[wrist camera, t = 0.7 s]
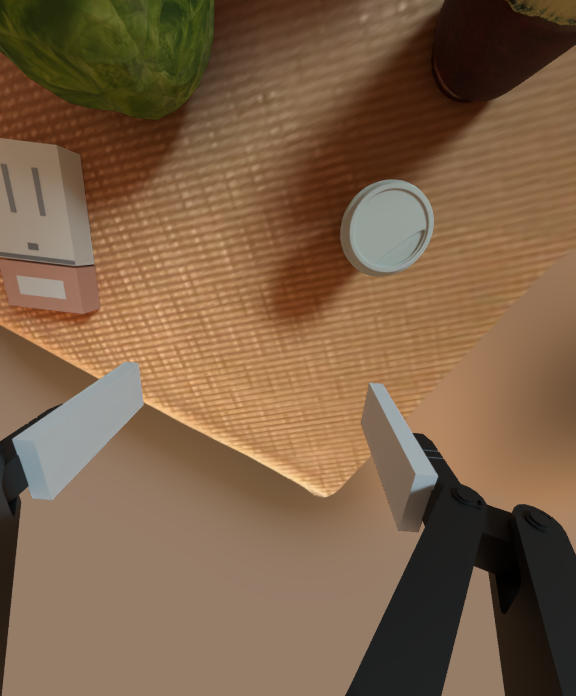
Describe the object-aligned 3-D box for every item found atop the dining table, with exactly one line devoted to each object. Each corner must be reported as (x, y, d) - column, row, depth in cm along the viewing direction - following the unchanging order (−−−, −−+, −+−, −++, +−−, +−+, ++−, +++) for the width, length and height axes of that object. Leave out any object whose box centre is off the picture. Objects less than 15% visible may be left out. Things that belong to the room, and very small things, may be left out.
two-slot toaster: (-2, 144, 34) (-35, 133, 30) (79, 154, 34) (56, 144, 31) (22, 255, 39) (-4, 256, 35) (94, 264, 39) (75, 266, 35)
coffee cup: (329, 270, 38) (343, 281, 27) (328, 199, 35) (342, 179, 24) (393, 265, 37) (434, 275, 26) (398, 193, 34) (446, 170, 23)
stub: (23, 257, 39) (-3, 259, 35) (94, 266, 39) (75, 268, 35) (32, 300, 41) (8, 305, 37) (100, 308, 41) (82, 314, 37)
